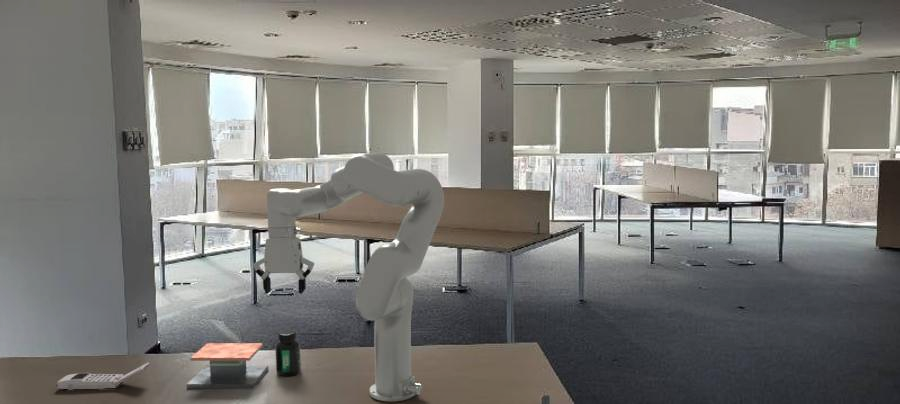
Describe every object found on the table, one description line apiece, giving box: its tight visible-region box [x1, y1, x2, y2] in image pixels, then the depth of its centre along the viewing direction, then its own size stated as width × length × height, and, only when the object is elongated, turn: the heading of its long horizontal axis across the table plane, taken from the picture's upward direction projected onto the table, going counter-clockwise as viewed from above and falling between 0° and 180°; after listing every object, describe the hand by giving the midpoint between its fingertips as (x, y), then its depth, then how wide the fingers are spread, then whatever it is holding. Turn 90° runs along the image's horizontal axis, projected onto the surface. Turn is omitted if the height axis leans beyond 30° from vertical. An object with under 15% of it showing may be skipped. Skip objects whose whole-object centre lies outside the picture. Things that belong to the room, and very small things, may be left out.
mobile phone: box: [56, 361, 151, 390], centre depth 183 cm, size 6×6×25 cm
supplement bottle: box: [274, 329, 302, 378], centre depth 191 cm, size 7×7×12 cm
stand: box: [186, 342, 269, 390], centre depth 188 cm, size 18×14×8 cm
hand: (284, 292), depth 190 cm, fingers open, 9 cm apart
